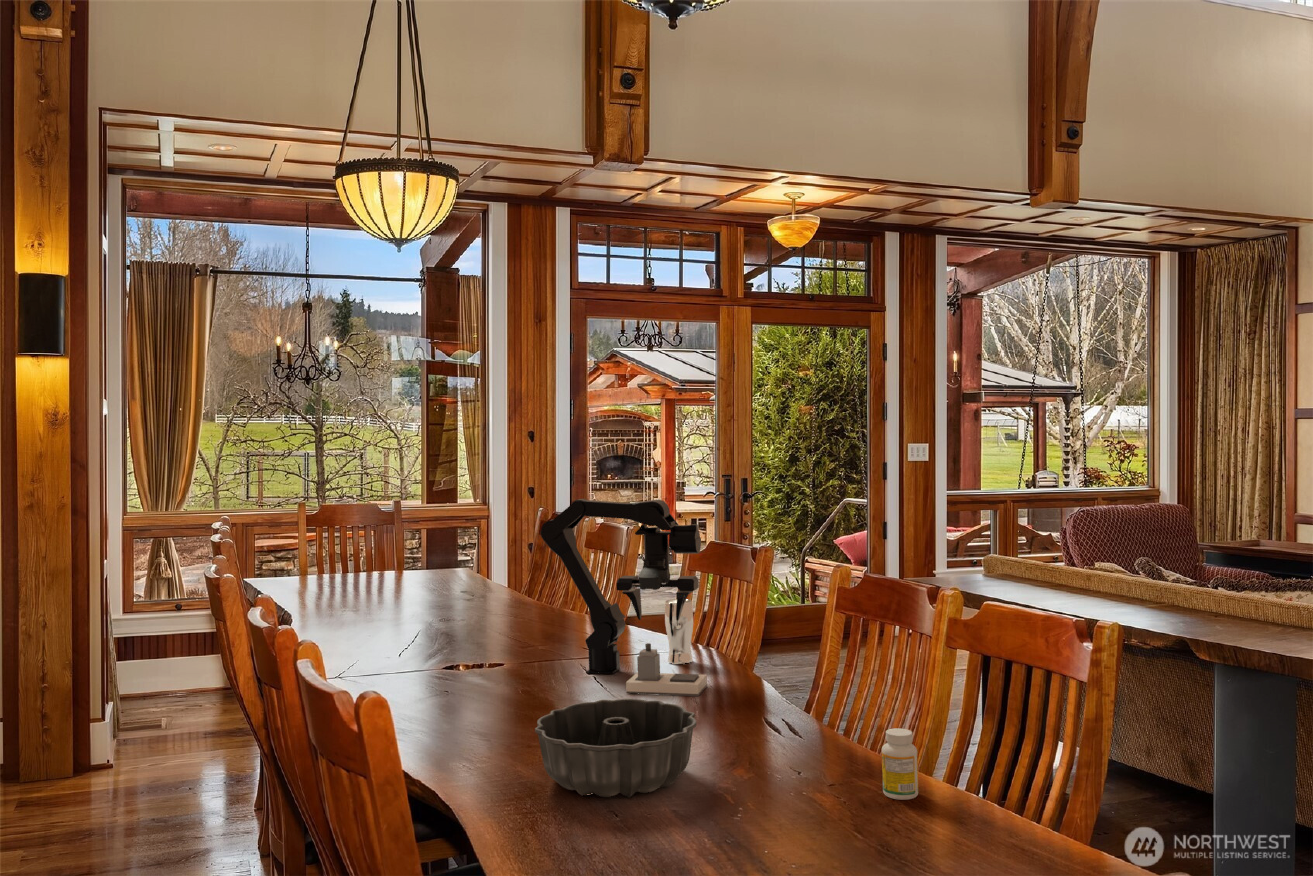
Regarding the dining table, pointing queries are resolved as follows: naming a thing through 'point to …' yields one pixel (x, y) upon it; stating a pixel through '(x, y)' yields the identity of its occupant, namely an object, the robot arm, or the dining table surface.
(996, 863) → the dining table surface
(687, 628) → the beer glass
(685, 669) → the dining table surface
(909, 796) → the supplement bottle
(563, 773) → the bundt pan
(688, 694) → the beige flat block
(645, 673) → the plug
